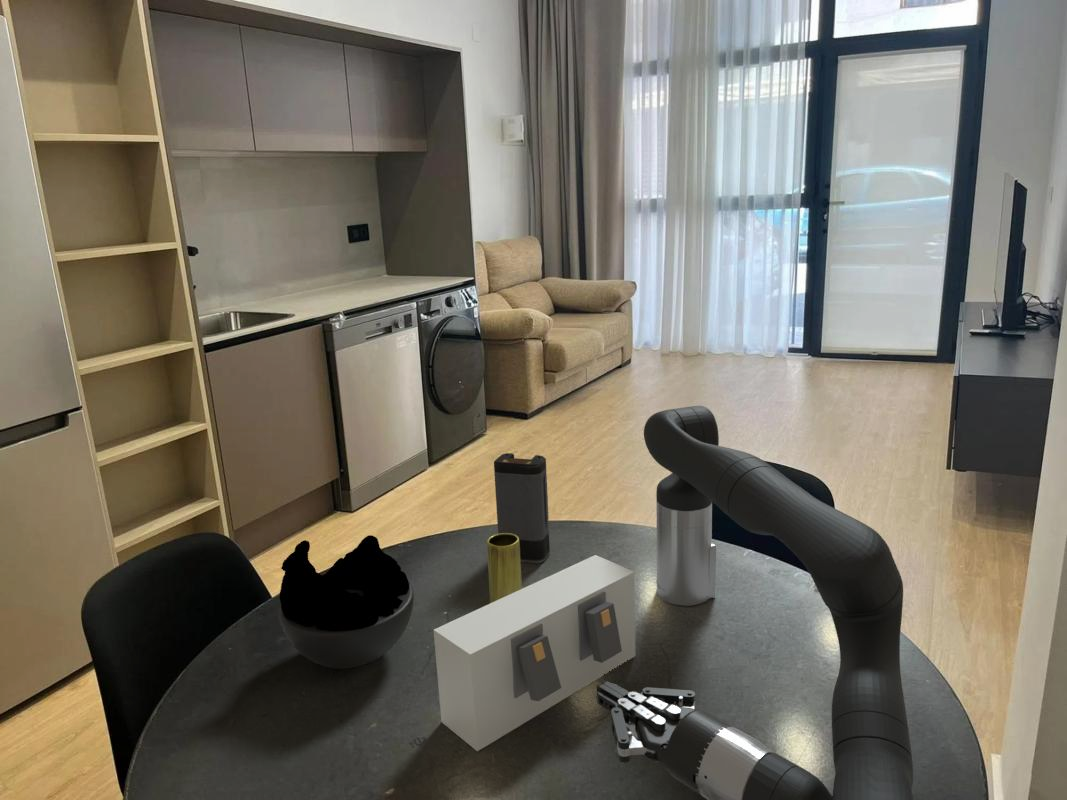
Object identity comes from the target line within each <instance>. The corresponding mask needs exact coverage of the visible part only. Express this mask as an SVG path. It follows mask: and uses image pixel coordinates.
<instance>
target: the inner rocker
mask: <svg viewBox="0 0 1067 800" xmlns="http://www.w3.org/2000/svg"><path fill="white" fill-rule="evenodd" d="M585 614H586V619H587V625H588V630H589V636H590V641H591V647H592V652H593V658H594V661H598V662H601V663H603V662H604V661H606V660H608V659H610V658H611V657H613V656H615V655H616V654H618V653H620V652H621V651H622V649H621V643H620V637H619V632H618V626H617V620H616V615H615V609H614V604H613V603H609V602H604V603H602V604H600V605H598V606H596V607H594V608H593V609H591V610H589V611H587V612H585Z"/></svg>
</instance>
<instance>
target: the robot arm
mask: <svg viewBox="0 0 1067 800" xmlns="http://www.w3.org/2000/svg"><path fill="white" fill-rule="evenodd" d="M643 438H644V442H645V446H646V449H647V450H648V453H649V454H650V456H651V458H653V460H654V461H655V463H657V464H659V466H661V467H663V468H664V469H665V470H667V471H669V472H670V474H669V475H667V476H666V477H664V478H663V479H661V480H660V481H659V483H658V484H657V486H656V493H655V494H656V495H655V497H656V502H655V503H656V507H655V508H656V593H657V597H659V598H660V599H661V600H663V601H664V602H666V603H669V604H672V605H676V606H685V607H688V606H696V605H700V604H703V603H705V602H707V601H708V600H709V599H712V598H713V599H714V598H716V583H717V582H716V580H717V579H716V578H717V577H716V575H717V571H716V570H717V546H716V544H715V543H713V542H712V537H713V533H712V532H713V531H712V530H713V525H712V524H713V504H714V505H715V506H716V507H718V508H719V509H720V511H722V512H723V513H724V514H725V515H727V516H728V517H729V518H730V519H731V520H732V521H733V522H735V524H737V525H738V526H739V527H741V528H743V529H744V530H746V531H747V532H750V533H752V534H757V535H761V536H762V535H763V536H773V537H774V538H776V539H778V540H779V541H780V543H783V545H785V546H786V547H787V548H788V549H789V550H790V551H791V552H792V554H793V555H795V556H796V557H797V558H798V560H799V561H800V562H801V563H802V564H803V565H804V567H805V569H807V571H808V574H809V575H810V577H811V579H812V582H813V583H814V584H815V587H816V589H817V591H818V593H819V595H820V597H821V599H822V601H823V603H824V605H825V606H826V607H827V608H828V610H829V612H830V615H831V617H832V621H833V624H834V627H835V631H836V636H837V640H838V645H839V655H840V656H839V657H840V659H839V660H840V662H839V671H838V675H837V678H836V681H835V685H834V688H833V692H832V693H833V694H832V700H831V701H832V702H831V734H832V735H831V736H832V737H831V739H832V753H833V754H832V756H833V766H834V771H835V773H834V778H833V786H832V787H833V788H832V794H831V792H830V791H829V789H828V788H827V787H826V785H825V784H824V783H823V782H822V781H821V779H819V778H818V777H817V776H816V775H814V774H812V773H811V772H810V771H809V770H806V769H805V768H803V767H802V766H800V765H798V764H797V763H795V762H792V761H791V760H788V759H787V758H785V757H783V756H781V755H780V754H778V753H776V752H775V751H773V750H771V749H770V748H769V747H768V746H766V745H765V744H764V743H762V742H761V741H759V740H758V739H756V738H755V737H753V736H751V735H749V734H747V733H746V732H745V731H742V730H740V729H738V728H736V727H735V726H733V725H731V724H729V723H727V722H726V721H724V720H722V719H720V718H718V717H716V716H715V715H713V714H711V713H709V712H708V711H706V710H704V709H696V693H695V691H693V690H691V689H689V690H688V689H687V690H686V689H677V688H676V689H675V688H663V687H662V688H660V687H650V686H649V687H646V686H645V687H644V688H643V689H642V692H637V691H628V690H627V689H625V688H624V687H621V686H620V685H619V684H616V683H612V682H610V681H607V680H606V681H604V682H602V683H600V684H599V685H598V686H596V700H597V704H598V705H599V706H600V707H602V708H603V709H605V710H606V711H609V712H610V713H611V714H610V715H611V733H612V737H613V741H614V745H615V749H616V753H617V758H618V760H619V762H620V763H628V762H629V761H630V759H631V756H640V755H643V756H644V757H645V758H646V759H647V760H649V761H652V762H656V763H660V764H662V766H664V768H665V769H666V770H667V773H669V774H670V776H671V777H673V779H675V780H677V781H678V782H680V783H681V784H682V785H684V786H685V787H688V789H690V790H692V791H694V792H695V793H697V794H698V795H699V796H701V797H703V798H704V799H706V800H914V796H913V789H912V788H913V784H914V765H913V763H914V762H913V755H912V748H911V741H910V740H911V739H910V731H909V724H908V718H907V710H906V703H905V698H904V697H905V696H904V689H903V684H902V674H901V673H902V672H901V660H900V659H901V656H900V655H901V652H900V651H901V650H900V647H901V629H902V618H903V603H904V583H903V579H902V576H901V573H900V570H899V569H898V566H897V564H896V561H895V559H894V557H893V554H892V551H891V549H890V547H889V545H888V543H887V542H886V541H885V540H884V538H883V537H882V535H880V534H879V532H877V531H876V530H875V529H874V528H872V527H870V526H869V525H867V524H865V523H864V522H862V521H860V520H858V519H856V518H854V517H853V516H850V515H848V514H846V513H844V512H843V511H840V510H838V509H837V508H834V507H833V506H831V505H829V504H827V503H825V502H823V501H821V500H820V499H818V498H816V497H815V496H814V495H812V494H811V493H809V492H808V491H807V490H805V489H803V487H802V486H800V485H798V484H797V483H795V482H794V481H792V480H791V479H790V478H788V477H787V476H785V475H784V473H782V472H781V471H779V470H778V469H776V468H775V467H773V466H772V465H771V464H769V463H768V462H766V461H764V459H762V458H759V457H758V456H755V455H753V454H752V453H749V452H746V451H743V450H738V449H735V448H734V449H733V448H731V447H726V446H721V445H719V441H720V439H719V429H718V424H717V420H716V417H715V416H714V414H713V412H712V411H711V410H710V409H709V408H707V407H706V406H704V405H703V406H702V405H693V406H685V407H684V406H683V407H679V408H678V407H676V408H671V409H670V408H669V409H664V410H660V411H657V412H655V413H654V414H652V415H650V416H649V417H648V419H647V420H646V422H645V424H644V428H643ZM660 699H663V700H660ZM628 729H629V730H628Z"/></svg>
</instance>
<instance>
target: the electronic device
mask: <svg viewBox="0 0 1067 800" xmlns="http://www.w3.org/2000/svg"><path fill="white" fill-rule="evenodd" d="M493 467H494V468H493V471H494V487H495V490H494V491H495V504H496V505H495V506H496V518H497V519H496V520H497V534H500V533H511V534H515V535H516V536H518V537H519V543H520V563H529V564H530V563H531V564H541V563H543V562H544V561H545V560H546V559H547V557H548V556H549V555H550V552H551V551H550V550H551V549H550V548H551V546H550V528H549V527H550V526H549V501H548V500H549V499H548V497H549V496H548V481H547V480H548V477H547V476H548V475H547V458H546V457H544V456H543V455H539V454H535V455H534V456H533V457H532V458H516V457H515V453H512V452H511V453H503V454H500V456H499V457H497V458H496V459H495V460H494V461H493Z"/></svg>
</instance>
